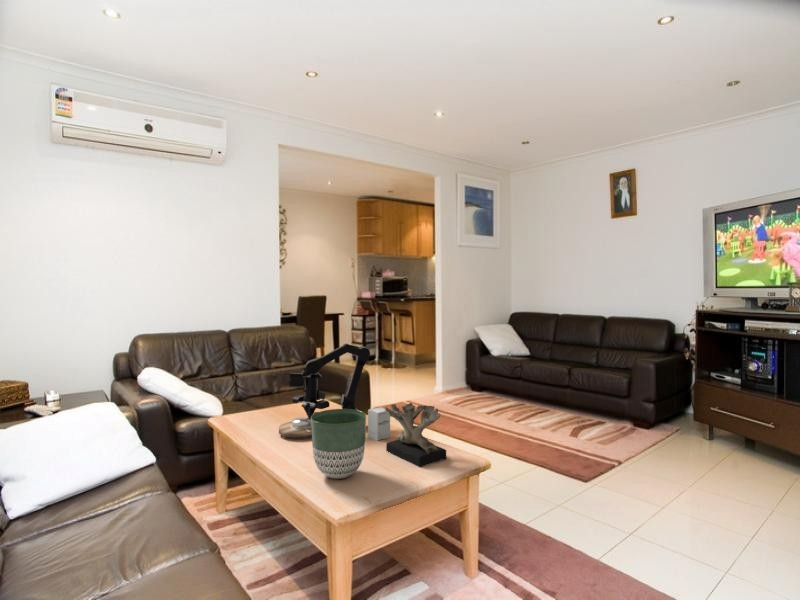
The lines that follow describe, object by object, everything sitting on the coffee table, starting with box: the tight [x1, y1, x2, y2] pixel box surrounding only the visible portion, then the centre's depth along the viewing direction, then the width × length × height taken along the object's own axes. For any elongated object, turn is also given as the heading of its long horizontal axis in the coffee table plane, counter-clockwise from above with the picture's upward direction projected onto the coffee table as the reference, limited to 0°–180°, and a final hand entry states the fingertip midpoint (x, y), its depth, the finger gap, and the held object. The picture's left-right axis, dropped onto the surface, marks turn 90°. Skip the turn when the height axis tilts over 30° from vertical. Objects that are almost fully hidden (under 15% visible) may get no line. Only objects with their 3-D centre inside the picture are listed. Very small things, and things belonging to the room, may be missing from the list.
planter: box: [311, 408, 367, 480], centre depth 161 cm, size 20×20×21 cm
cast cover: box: [291, 417, 310, 429], centre depth 208 cm, size 8×8×3 cm
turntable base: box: [283, 435, 312, 440], centre depth 209 cm, size 16×16×1 cm
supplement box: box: [367, 406, 391, 442], centre depth 203 cm, size 7×7×13 cm
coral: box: [383, 402, 447, 468], centre depth 178 cm, size 25×20×21 cm
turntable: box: [278, 411, 319, 437], centre depth 209 cm, size 20×20×7 cm
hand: (310, 419), depth 214 cm, fingers closed
